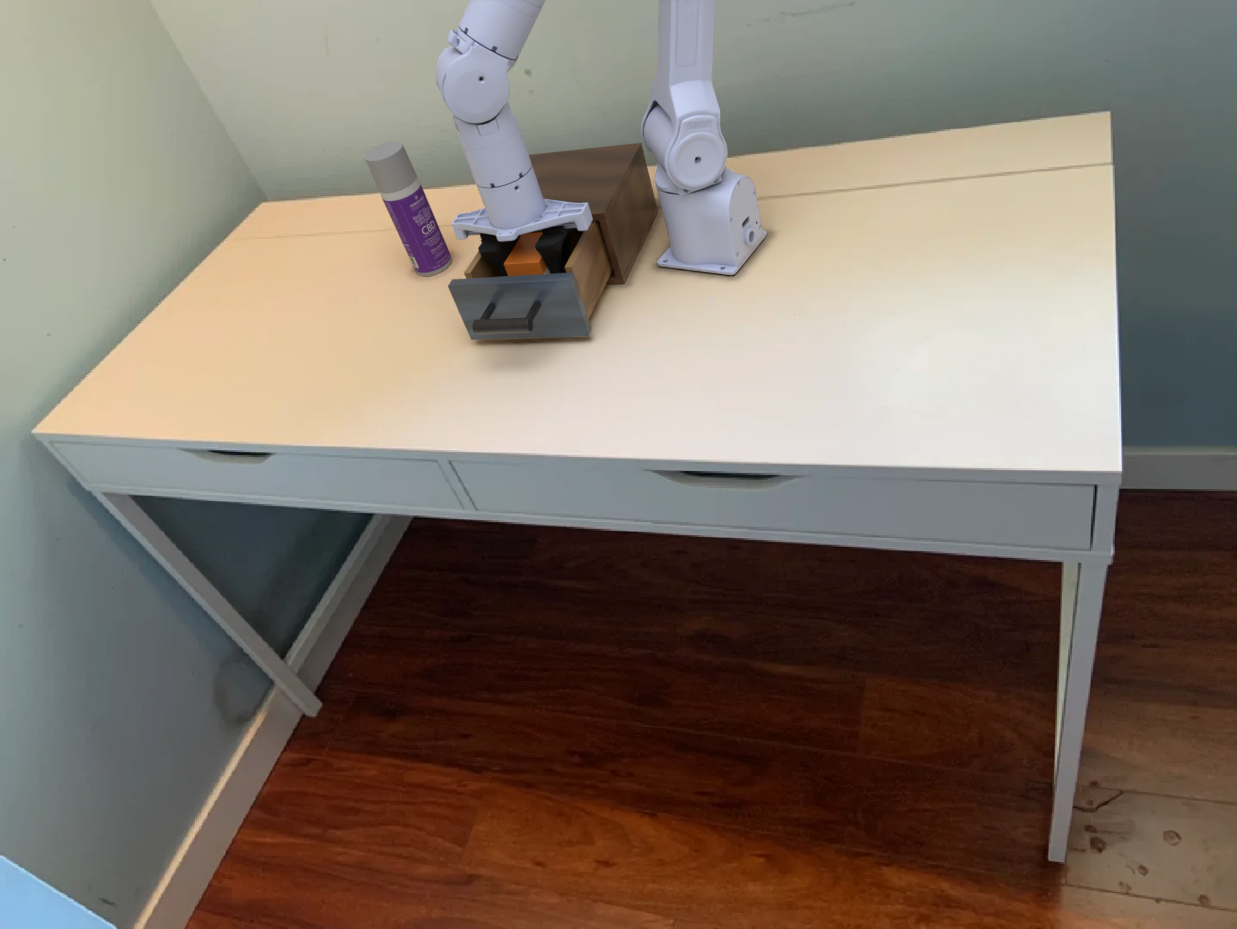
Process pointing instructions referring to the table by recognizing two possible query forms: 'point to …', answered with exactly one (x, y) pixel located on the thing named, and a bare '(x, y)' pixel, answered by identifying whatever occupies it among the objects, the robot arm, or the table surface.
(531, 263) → the snack box
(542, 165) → the cabinet
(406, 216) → the container
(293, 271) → the table surface
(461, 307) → the drawer
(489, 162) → the robot arm
